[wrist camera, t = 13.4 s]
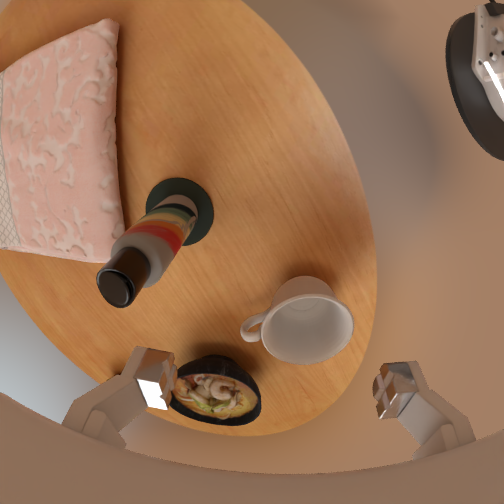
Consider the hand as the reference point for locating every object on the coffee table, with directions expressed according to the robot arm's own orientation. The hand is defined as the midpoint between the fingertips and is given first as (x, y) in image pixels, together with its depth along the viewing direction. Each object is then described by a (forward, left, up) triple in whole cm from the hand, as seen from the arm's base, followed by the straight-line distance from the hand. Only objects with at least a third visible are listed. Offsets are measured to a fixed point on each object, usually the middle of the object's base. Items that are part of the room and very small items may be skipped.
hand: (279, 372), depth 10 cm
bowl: (+35, -8, -30) cm, 47 cm away
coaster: (+4, -13, -30) cm, 33 cm away
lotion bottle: (+4, -13, -30) cm, 33 cm away
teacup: (+16, +4, -30) cm, 34 cm away
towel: (-7, -38, -30) cm, 49 cm away
